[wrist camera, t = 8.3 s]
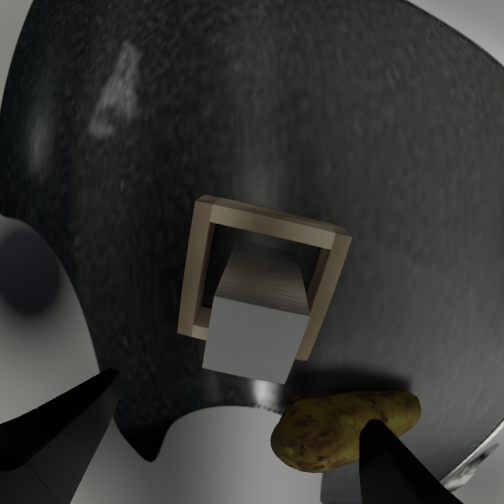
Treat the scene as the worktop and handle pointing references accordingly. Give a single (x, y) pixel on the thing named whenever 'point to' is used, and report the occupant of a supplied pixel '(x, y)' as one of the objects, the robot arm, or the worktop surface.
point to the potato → (338, 426)
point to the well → (269, 223)
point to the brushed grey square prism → (257, 314)
